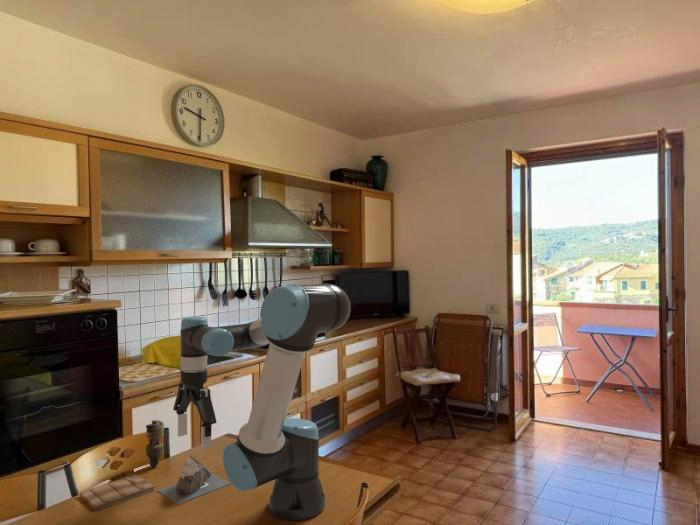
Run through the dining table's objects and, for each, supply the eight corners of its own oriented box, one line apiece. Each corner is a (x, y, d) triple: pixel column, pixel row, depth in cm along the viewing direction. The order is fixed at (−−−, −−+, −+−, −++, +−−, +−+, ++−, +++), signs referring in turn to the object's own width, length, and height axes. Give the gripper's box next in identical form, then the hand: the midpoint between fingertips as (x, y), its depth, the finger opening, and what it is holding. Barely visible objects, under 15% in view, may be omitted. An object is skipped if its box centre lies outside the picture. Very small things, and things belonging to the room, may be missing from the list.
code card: (230, 483, 147) (230, 483, 147) (177, 504, 135) (177, 504, 135) (209, 472, 156) (209, 471, 156) (157, 490, 143) (157, 490, 143)
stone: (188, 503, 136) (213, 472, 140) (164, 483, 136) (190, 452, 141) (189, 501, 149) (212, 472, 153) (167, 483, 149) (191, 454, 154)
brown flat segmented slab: (154, 490, 143) (154, 485, 143) (96, 511, 132) (96, 505, 132) (136, 478, 152) (136, 473, 152) (80, 496, 140) (80, 491, 140)
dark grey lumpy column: (157, 461, 164) (156, 417, 164) (168, 465, 161) (167, 419, 161) (142, 468, 159) (142, 421, 159) (153, 471, 156) (153, 424, 156)
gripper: (228, 374, 140) (228, 448, 140) (184, 361, 157) (184, 427, 157) (205, 378, 134) (205, 456, 134) (161, 365, 151) (161, 433, 151)
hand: (194, 441), depth 146 cm, fingers open, 13 cm apart
